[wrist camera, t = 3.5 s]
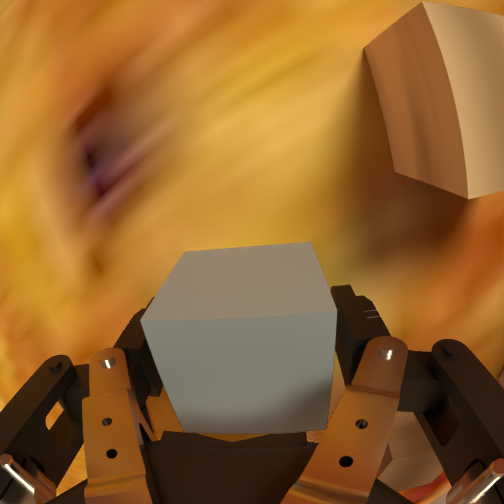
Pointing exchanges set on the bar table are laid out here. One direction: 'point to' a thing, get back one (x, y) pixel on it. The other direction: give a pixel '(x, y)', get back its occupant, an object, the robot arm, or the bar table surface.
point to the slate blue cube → (245, 340)
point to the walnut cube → (408, 456)
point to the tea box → (502, 378)
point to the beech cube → (444, 96)
